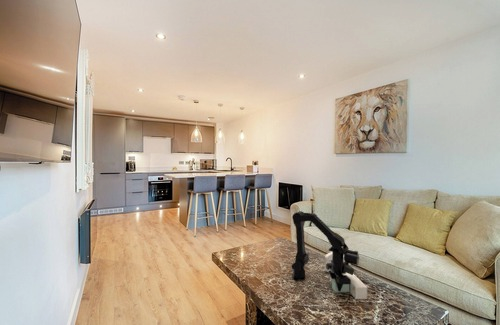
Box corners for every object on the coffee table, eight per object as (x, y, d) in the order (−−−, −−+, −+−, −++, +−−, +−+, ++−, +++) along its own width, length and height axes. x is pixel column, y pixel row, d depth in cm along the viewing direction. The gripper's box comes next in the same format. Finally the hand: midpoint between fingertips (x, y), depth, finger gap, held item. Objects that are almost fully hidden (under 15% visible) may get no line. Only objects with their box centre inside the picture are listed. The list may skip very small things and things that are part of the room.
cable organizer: (339, 279, 137) (340, 259, 137) (323, 272, 145) (324, 254, 145) (350, 271, 148) (351, 253, 148) (335, 265, 155) (335, 248, 155)
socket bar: (355, 299, 117) (355, 287, 117) (341, 282, 133) (341, 272, 133) (367, 299, 118) (367, 287, 118) (351, 282, 134) (352, 272, 134)
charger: (335, 292, 123) (335, 283, 123) (331, 287, 127) (331, 278, 127) (354, 292, 123) (354, 282, 123) (350, 287, 128) (350, 278, 128)
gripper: (361, 267, 116) (360, 298, 116) (344, 253, 135) (344, 279, 135) (339, 268, 116) (339, 298, 116) (325, 253, 134) (325, 279, 134)
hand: (337, 288), depth 125 cm, fingers closed on charger, 4 cm apart
